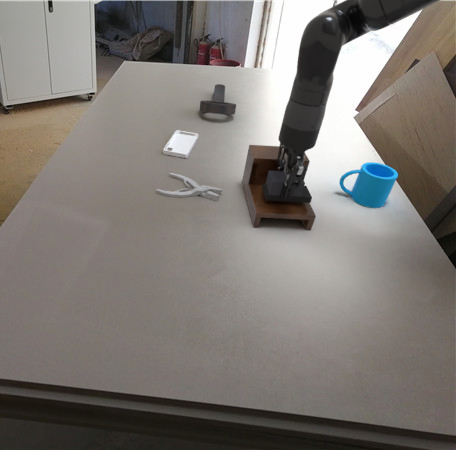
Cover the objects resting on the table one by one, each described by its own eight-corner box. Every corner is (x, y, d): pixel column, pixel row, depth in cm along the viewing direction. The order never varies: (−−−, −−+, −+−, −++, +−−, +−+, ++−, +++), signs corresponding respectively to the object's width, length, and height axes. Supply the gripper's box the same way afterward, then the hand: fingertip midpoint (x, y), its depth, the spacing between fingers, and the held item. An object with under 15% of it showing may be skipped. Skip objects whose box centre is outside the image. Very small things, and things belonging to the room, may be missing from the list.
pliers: (170, 169, 107) (225, 182, 102) (170, 174, 108) (224, 188, 103) (156, 187, 99) (215, 202, 95) (156, 192, 100) (214, 208, 96)
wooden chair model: (291, 185, 106) (302, 147, 99) (310, 230, 91) (325, 188, 84) (241, 183, 106) (249, 144, 99) (253, 227, 91) (263, 185, 84)
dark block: (304, 191, 94) (310, 172, 91) (310, 203, 90) (316, 184, 87) (261, 188, 94) (266, 170, 91) (265, 200, 90) (270, 181, 87)
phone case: (186, 158, 115) (198, 137, 127) (187, 154, 114) (199, 133, 126) (162, 154, 117) (176, 133, 128) (162, 149, 116) (176, 129, 127)
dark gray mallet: (202, 104, 162) (198, 111, 135) (204, 82, 159) (201, 85, 131) (232, 107, 161) (235, 115, 133) (235, 85, 158) (239, 88, 130)
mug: (381, 193, 105) (394, 165, 100) (387, 210, 98) (401, 181, 93) (333, 185, 107) (343, 157, 102) (336, 201, 101) (347, 173, 96)
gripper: (331, 138, 76) (307, 211, 86) (310, 109, 87) (291, 177, 98) (292, 135, 76) (272, 209, 86) (276, 107, 87) (260, 175, 98)
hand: (282, 192), depth 92 cm, fingers closed on dark block, 5 cm apart
